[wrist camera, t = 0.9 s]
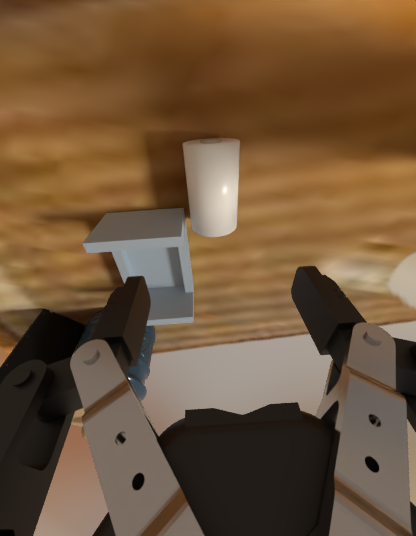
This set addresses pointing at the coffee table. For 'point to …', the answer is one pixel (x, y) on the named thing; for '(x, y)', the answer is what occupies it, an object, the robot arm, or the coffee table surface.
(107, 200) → the coffee table surface
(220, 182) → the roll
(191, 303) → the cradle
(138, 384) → the canister
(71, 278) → the coffee table surface
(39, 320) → the long black block
